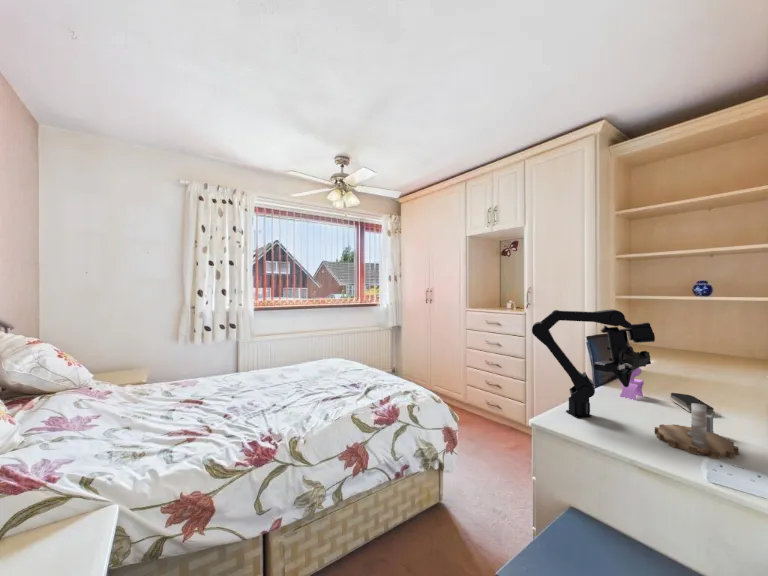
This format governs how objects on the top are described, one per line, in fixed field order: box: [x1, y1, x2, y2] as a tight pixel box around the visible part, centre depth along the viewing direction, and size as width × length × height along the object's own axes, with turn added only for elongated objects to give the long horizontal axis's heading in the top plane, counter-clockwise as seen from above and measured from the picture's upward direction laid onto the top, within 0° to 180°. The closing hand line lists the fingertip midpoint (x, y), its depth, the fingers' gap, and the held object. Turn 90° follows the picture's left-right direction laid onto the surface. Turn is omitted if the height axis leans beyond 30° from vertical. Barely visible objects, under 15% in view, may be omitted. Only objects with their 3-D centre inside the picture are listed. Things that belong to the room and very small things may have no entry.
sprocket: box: [654, 403, 740, 460], centre depth 101 cm, size 19×19×14 cm
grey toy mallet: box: [706, 414, 714, 433], centre depth 107 cm, size 3×6×6 cm, turn 123°
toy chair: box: [619, 367, 645, 401], centre depth 143 cm, size 8×9×15 cm
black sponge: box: [670, 392, 715, 417], centre depth 130 cm, size 16×8×4 cm, turn 160°
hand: (626, 386), depth 116 cm, fingers closed
